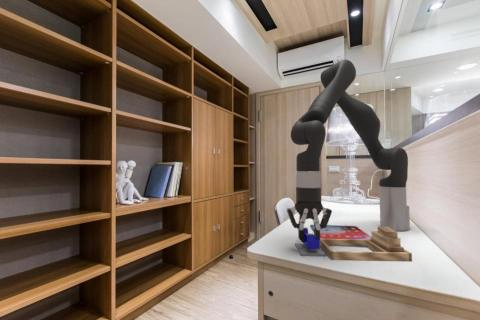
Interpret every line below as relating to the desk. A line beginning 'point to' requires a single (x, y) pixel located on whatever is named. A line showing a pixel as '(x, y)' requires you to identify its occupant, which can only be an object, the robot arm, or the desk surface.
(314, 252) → the felt pad
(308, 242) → the cable holder
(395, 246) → the offcut stack
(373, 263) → the desk surface
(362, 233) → the tablet
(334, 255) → the rack
